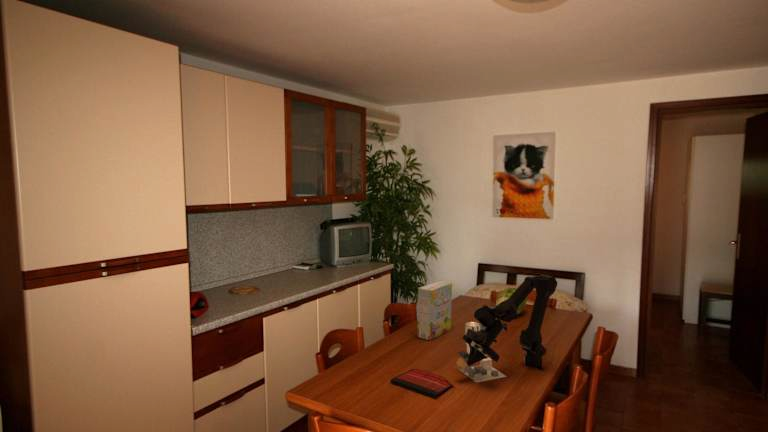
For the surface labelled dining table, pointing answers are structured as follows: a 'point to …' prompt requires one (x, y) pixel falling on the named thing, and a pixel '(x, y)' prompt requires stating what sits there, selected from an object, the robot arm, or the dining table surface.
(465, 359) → the black lever
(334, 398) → the dining table surface
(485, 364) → the slider
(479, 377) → the panel
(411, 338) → the dining table surface
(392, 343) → the dining table surface
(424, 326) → the snack box
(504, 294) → the lettuce
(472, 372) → the orange lever
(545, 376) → the dining table surface
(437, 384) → the binder
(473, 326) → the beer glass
